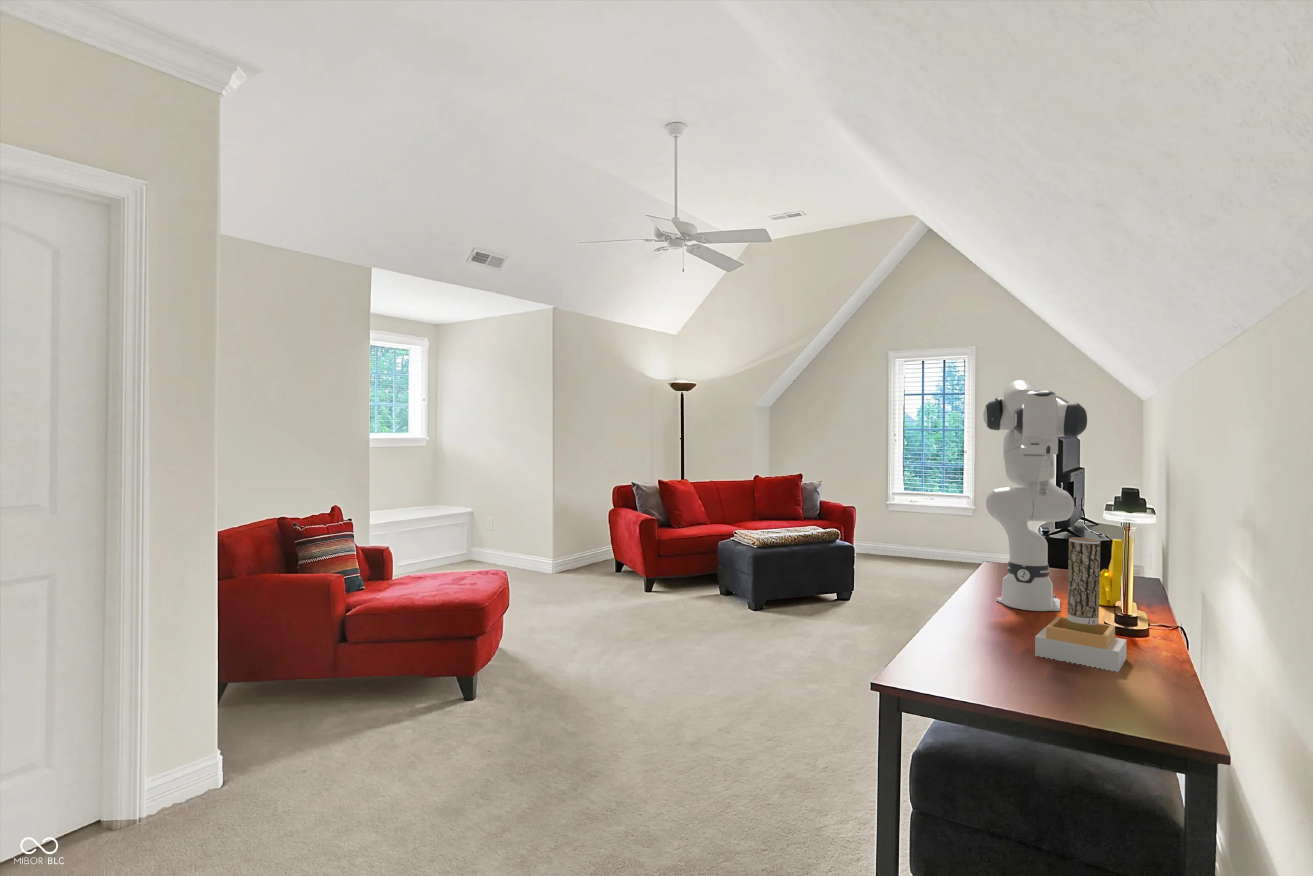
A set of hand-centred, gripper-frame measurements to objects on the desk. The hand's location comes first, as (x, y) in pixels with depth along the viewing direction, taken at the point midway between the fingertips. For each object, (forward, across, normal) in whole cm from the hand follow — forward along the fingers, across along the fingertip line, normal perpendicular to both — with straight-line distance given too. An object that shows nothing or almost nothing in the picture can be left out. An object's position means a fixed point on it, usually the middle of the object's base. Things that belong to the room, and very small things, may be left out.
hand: (1039, 496), depth 196 cm
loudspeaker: (+39, +14, +13) cm, 43 cm away
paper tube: (+34, +14, +13) cm, 39 cm away
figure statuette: (+39, -54, +10) cm, 68 cm away
